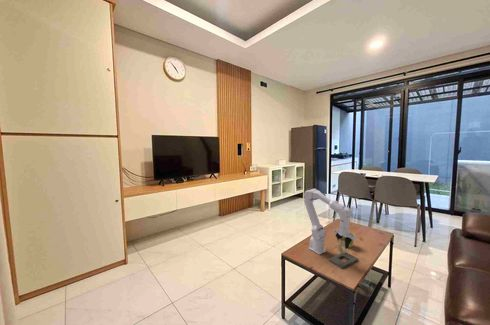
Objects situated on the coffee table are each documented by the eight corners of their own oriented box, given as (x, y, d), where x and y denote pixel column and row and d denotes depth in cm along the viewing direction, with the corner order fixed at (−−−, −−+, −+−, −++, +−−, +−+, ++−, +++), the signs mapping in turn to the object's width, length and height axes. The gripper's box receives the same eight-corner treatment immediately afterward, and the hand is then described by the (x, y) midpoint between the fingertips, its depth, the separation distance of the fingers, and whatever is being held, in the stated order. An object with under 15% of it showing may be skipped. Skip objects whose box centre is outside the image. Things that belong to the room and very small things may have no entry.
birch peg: (338, 250, 134) (338, 239, 133) (341, 249, 136) (342, 237, 135) (343, 253, 130) (344, 241, 130) (347, 251, 132) (348, 240, 132)
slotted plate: (328, 260, 134) (328, 258, 134) (344, 253, 143) (344, 251, 143) (342, 269, 126) (342, 266, 126) (358, 260, 134) (358, 258, 134)
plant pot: (356, 245, 154) (356, 234, 153) (352, 250, 147) (353, 239, 146) (343, 241, 160) (343, 230, 159) (339, 246, 153) (339, 235, 152)
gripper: (330, 223, 136) (329, 243, 137) (351, 232, 123) (350, 253, 125) (337, 221, 139) (336, 240, 141) (358, 229, 127) (357, 250, 128)
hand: (343, 246), depth 133 cm, fingers closed on birch peg, 4 cm apart
